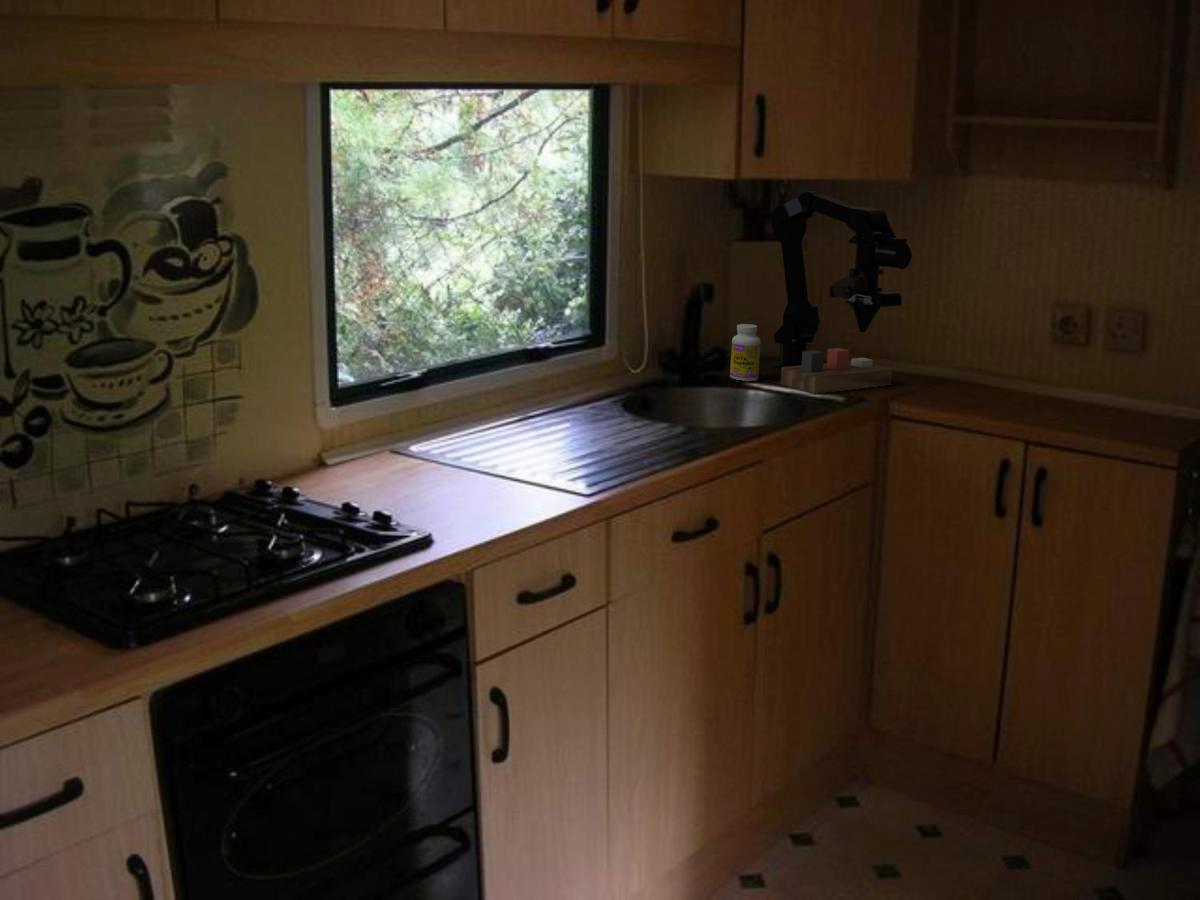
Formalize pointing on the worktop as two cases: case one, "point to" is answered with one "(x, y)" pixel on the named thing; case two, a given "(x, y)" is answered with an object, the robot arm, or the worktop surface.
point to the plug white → (861, 362)
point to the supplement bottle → (745, 353)
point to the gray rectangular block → (812, 361)
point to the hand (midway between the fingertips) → (862, 332)
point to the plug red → (837, 359)
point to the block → (836, 378)
